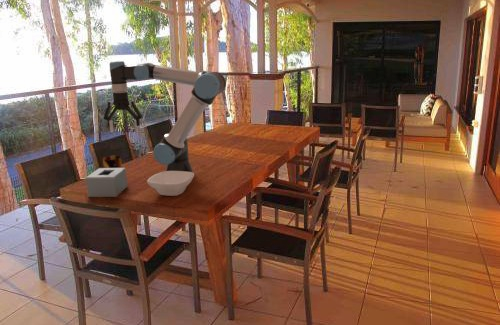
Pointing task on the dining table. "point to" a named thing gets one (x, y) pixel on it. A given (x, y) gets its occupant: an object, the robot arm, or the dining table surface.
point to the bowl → (170, 182)
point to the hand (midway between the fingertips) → (124, 132)
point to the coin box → (106, 182)
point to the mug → (112, 162)
